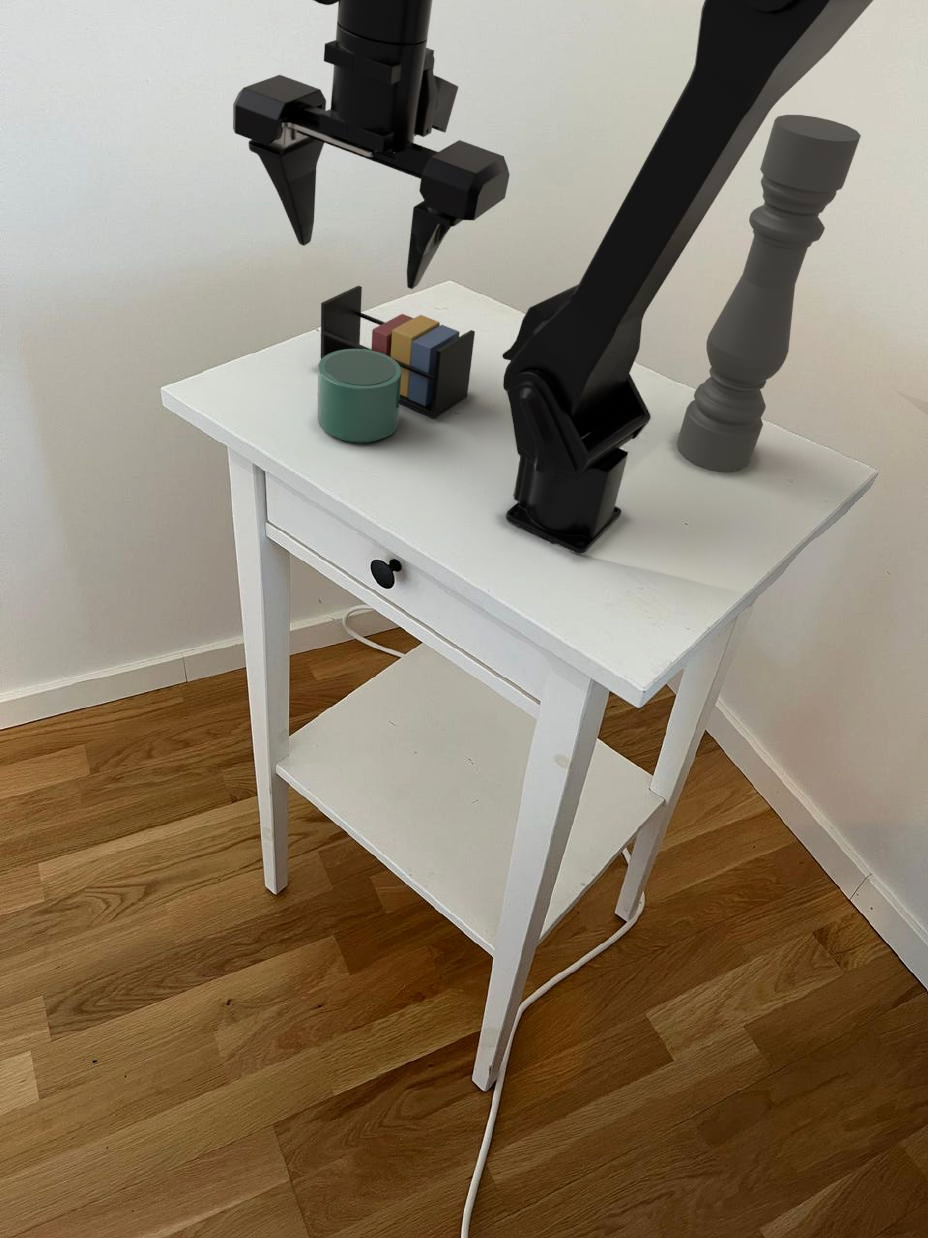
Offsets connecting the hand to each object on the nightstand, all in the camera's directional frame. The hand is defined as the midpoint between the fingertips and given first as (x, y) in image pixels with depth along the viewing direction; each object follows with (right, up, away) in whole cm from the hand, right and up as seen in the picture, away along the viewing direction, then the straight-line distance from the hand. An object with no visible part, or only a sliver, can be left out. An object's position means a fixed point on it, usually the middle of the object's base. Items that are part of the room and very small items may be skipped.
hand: (358, 264), depth 72 cm
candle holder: (+29, -12, +9) cm, 32 cm away
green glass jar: (-1, -11, +6) cm, 12 cm away
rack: (+2, -6, +12) cm, 13 cm away
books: (+3, -6, +11) cm, 13 cm away
